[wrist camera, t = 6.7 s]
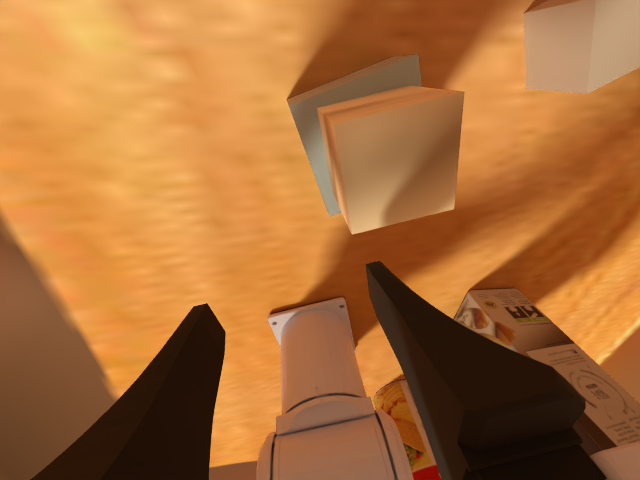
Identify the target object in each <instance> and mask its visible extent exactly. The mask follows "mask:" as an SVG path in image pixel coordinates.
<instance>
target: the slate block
mask: <svg viewBox="0 0 640 480" xmlns="http://www.w3.org/2000/svg"><path fill="white" fill-rule="evenodd" d="M408 85H409V86H418V87H422V82H421V72H420V63H419V54H412V55H403V56H394V57H390V58H387V59H385V60H383V61H380V62H378V63H375V64H373V65H370V66H368V67H365V68H363V69H360V70H358V71H355V72H353V73H351V74H348V75H346V76H343V77H341V78H338V79H336V80H333V81H331V82H328V83H326V84H323V85H321V86H319V87H316V88H314V89H311V90H309V91H306V92H304V93H301V94H299V95H296V96H294V97H291V98H289V99H287V102H288V105H289V107H290V110H291V113H292V116H293V118H294V121H295V124H296V126H297V129H298V132H299V135H300V137H301V140H302V143H303V146H304V148H305V151H306V154H307V156H308V159H309V162H310V165H311V167H312V170H313V173H314V176H315V178H316V181H317V184H318V186H319V189H320V192H321V195H322V197H323V200H324V203H325V205H326V208H327V211H328V213H329V216H330V217H331V216H333V215H336V214H339V213H341V210H340V208H339V205H338V203H337V201H336V199H335V197H334V195H333V190H332V185H331V180H330V175H329V169H328V164H327V159H326V153H325V148H324V143H323V138H322V132H321V127H320V122H319V117H318V111H317V108H319V107H323V106H327V105H331V104H335V103H339V102H343V101H347V100H352V99H356V98H360V97H364V96H368V95H372V94H376V93H380V92H384V91H388V90H392V89H396V88H400V87H404V86H408Z"/></svg>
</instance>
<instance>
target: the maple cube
mask: <svg viewBox="0 0 640 480" xmlns="http://www.w3.org/2000/svg"><path fill="white" fill-rule="evenodd" d="M463 101H464V92H463V91H454V90H445V89H436V88H427V87H418V86H409V85H408V86H404V87H400V88H396V89H392V90H388V91H384V92H380V93H376V94H372V95H368V96H364V97H360V98H356V99H352V100H347V101H343V102H339V103H335V104H331V105H327V106H323V107H319V108H317V111H318V117H319V122H320V127H321V132H322V138H323V143H324V148H325V153H326V159H327V164H328V169H329V175H330V180H331V185H332V190H333V195H334V197H335V199H336V201H337V203H338V205H339V208H340V210H341V212H342V214H343V216H344V218H345V220H346V223H347V225H348V227H349V229H350V231H351V233H352V235H353V234H357V233H361V232H365V231H369V230H373V229H377V228H381V227H385V226H389V225H393V224H397V223H401V222H405V221H409V220H413V219H417V218H421V217H425V216H429V215H433V214H437V213H441V212H445V211H449V210H453V209H454V204H455V193H456V181H457V170H458V158H459V147H460V135H461V124H462V112H463Z"/></svg>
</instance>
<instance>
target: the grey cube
mask: <svg viewBox="0 0 640 480" xmlns="http://www.w3.org/2000/svg"><path fill="white" fill-rule="evenodd" d="M524 43H525V77H526V89H533V90H546V91H558V92H571V93H583V94H588V93H590V92H592V91H594V90H596V89H598V88H600V87H602V86H604V85H606V84H608V83H610V82H612V81H614V80H616V79H618V78H620V77H622V76H624V75H626V74H628V73H629V72H631V71H633V70H635V69H637V68H639V67H640V0H546V1H545V2H543V3H541V4H539V5H538V6H536V7H534V8H532V9H531V10H529V11H527V12H525V13H524Z"/></svg>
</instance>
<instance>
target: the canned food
mask: <svg viewBox="0 0 640 480" xmlns="http://www.w3.org/2000/svg"><path fill="white" fill-rule="evenodd" d="M373 401H374V404H375V408H376V410H377V409H383V410H384V411H385V413H387V414H388V415H389V416H391V417H392V419H393V420H394V422H395V424H396V426H397V429H398V431H399V434H400V436H401V439H402V442H403V445H404V448H405V451H406V454H407V457H408V461H409V464H410V468H411V471H412V475H413V479H414V480H442V479H441V476H440V473H439V470H438V467H437V464H436V461H435V458H434V455H433V453H432V450H431V447H430V444H429V441H428V438H427V435H426V433H425V430H424V427H423V424H422V421H421V419H420V416H419V413H418V410H417V408H416V405H415V402H414V399H413V397H412V394H411V391H410V389H409V386H408V383H407V381H406V380H399V381H396V382H393V383H390V384H388V385H386V386H384V387H383V388H381V389H380V390H379V391H378V392H377V393H376V395H375V396H374V400H373Z"/></svg>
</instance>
